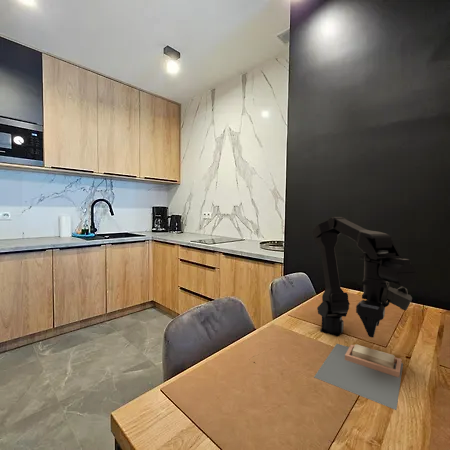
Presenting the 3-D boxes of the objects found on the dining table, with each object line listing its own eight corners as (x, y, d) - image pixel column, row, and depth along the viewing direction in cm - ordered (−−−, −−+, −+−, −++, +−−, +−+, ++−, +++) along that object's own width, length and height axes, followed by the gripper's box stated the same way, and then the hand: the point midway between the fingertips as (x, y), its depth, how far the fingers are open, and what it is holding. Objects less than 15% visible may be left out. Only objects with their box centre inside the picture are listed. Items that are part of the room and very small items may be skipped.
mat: (313, 378, 67) (313, 377, 67) (336, 344, 84) (336, 343, 84) (396, 411, 56) (396, 409, 56) (403, 364, 73) (403, 363, 73)
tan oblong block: (394, 364, 72) (394, 355, 72) (392, 372, 69) (392, 362, 69) (355, 352, 79) (355, 344, 78) (352, 359, 75) (352, 350, 75)
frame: (344, 359, 75) (344, 355, 75) (350, 348, 81) (351, 344, 81) (399, 377, 67) (399, 372, 66) (401, 363, 73) (401, 359, 73)
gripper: (408, 290, 60) (406, 354, 61) (411, 275, 75) (410, 327, 75) (356, 282, 67) (355, 340, 68) (368, 270, 82) (367, 317, 82)
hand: (373, 331), depth 73 cm, fingers open, 9 cm apart
